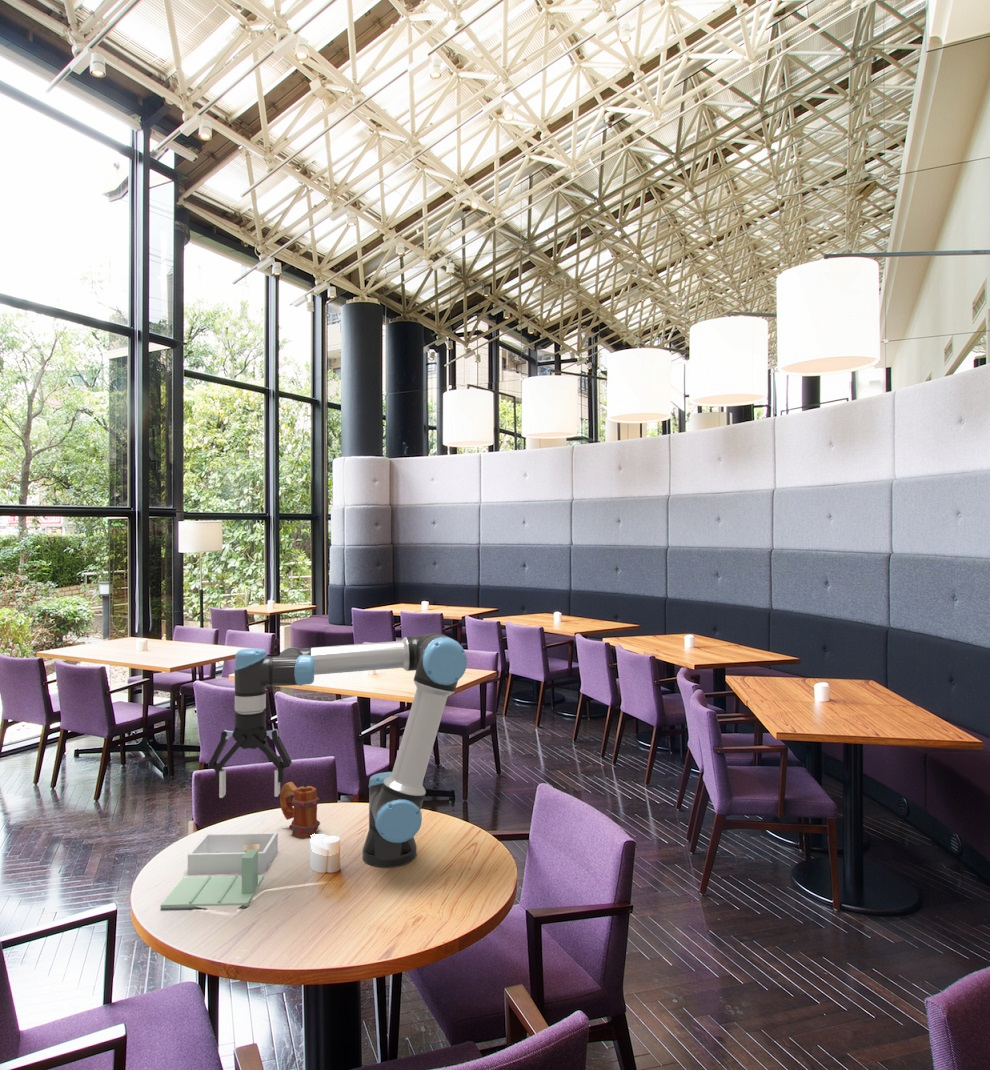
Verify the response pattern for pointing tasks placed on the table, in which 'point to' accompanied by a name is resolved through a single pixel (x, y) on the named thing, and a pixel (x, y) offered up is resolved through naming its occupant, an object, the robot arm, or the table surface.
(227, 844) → the tub
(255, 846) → the part
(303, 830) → the mug
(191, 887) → the lid
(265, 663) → the robot arm
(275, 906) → the table surface
